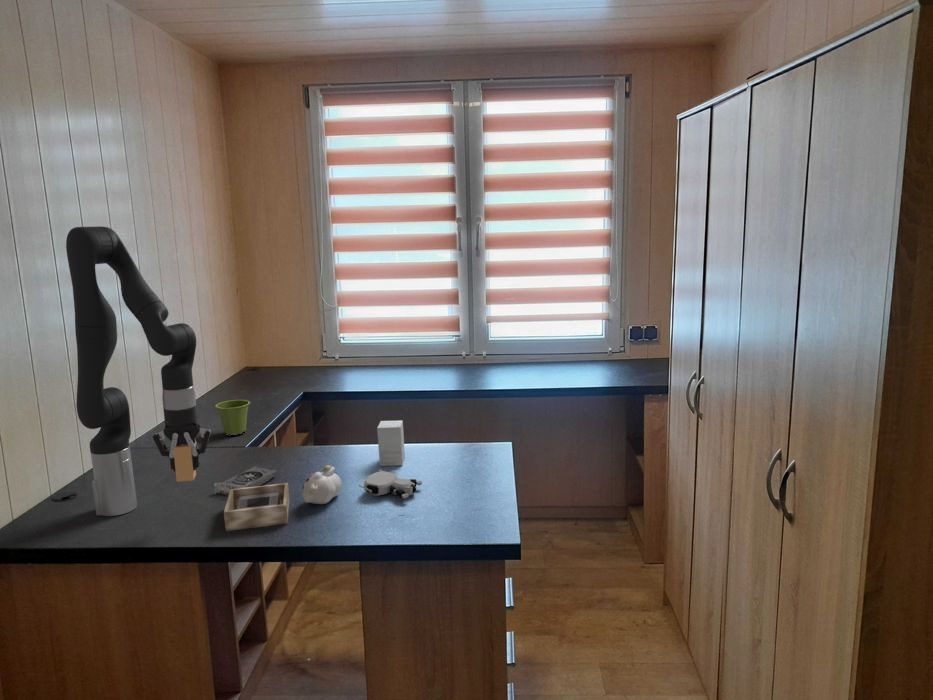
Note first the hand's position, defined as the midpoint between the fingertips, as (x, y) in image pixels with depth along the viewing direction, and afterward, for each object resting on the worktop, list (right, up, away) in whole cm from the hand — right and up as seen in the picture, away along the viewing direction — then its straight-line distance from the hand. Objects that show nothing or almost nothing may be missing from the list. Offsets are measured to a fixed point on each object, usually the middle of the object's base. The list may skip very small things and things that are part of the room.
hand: (185, 469), depth 169 cm
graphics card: (+8, -10, +26) cm, 29 cm away
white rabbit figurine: (+32, -11, +14) cm, 36 cm away
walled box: (+17, -13, +6) cm, 22 cm away
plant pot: (-13, 0, +74) cm, 75 cm away
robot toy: (+50, -10, +18) cm, 54 cm away
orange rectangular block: (0, -2, 0) cm, 2 cm away
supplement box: (+48, -5, +42) cm, 64 cm away
